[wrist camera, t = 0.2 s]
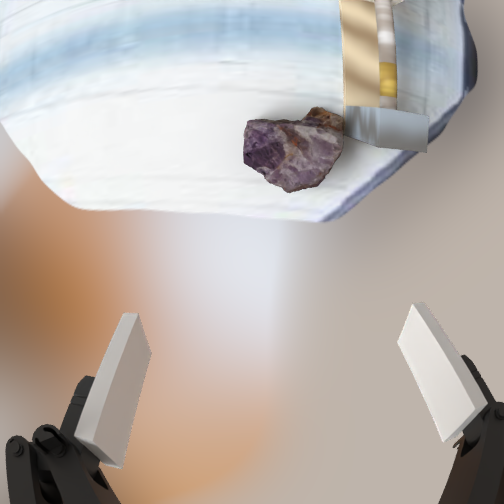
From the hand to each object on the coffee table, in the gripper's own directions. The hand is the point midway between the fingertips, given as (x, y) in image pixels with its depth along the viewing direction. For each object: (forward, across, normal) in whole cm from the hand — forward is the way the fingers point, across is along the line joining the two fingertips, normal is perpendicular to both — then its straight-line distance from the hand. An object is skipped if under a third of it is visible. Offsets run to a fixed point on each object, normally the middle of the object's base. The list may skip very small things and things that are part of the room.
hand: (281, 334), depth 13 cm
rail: (+28, +14, +21) cm, 38 cm away
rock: (+28, +4, +5) cm, 29 cm away
